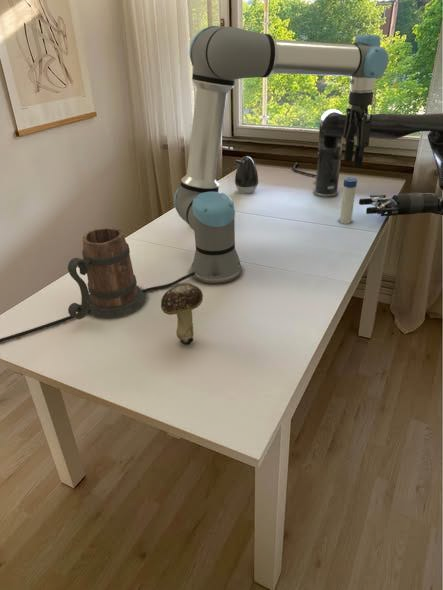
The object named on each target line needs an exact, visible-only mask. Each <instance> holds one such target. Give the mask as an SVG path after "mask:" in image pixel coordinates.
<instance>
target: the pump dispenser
mask: <svg viewBox="0 0 443 590" xmlns="http://www.w3.org/2000/svg"><path fill="white" fill-rule="evenodd" d="M234 162H235V163H236V164H237V168H236V170H235V177H234V185H235V187H236V190H237V191H239V192H240V193H242V194H251V193H253V192H255V191H256V190H257V188H258V185H259V175H258V169H257V167H256V164H255V162H254V160H253V158H252V157H251V156H249V155H246V156H245V155H244V156H243V157H242V158H241V159H240V160H238V159H235V160H234Z"/></svg>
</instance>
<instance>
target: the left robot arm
mask: <svg viewBox="0 0 443 590" xmlns="http://www.w3.org/2000/svg"><path fill="white" fill-rule="evenodd" d="M188 52H189V60H190V63H191V65H192V76H191V81H192V83H193V84H194V86H195V87H196V90H195V98H194V99H195V101H194V109H193V117H192V125H191V135H190V144H189V153H188V162H187V171H186V175H184V176H183V177H182V178H181V179H180V186H179V187H178V188H177V189H176V191H175V192H174V193H175V194H174V197H173V205H174V208H175V211H176V212H177V214H178V216H179V217H180V218H181V219H182V221H184V222H186V224H187V225H188V226H189V227H190V229H192V230H193V232H194V243H195V244H194V245H195V252H194V256H193V260H192V263H191V266H190V270H191V272H190V273H187V274H186V275H184V276H181V277H179V278H178V279H176V280H175V281H172V282H170V283H166V284H162V285H157V286H152V287H147V288H144V289H141V291H142V292H144V293H148V292H151V291H155V290H161V289H166V288H169V287H174V286H176V285H178V284H180V283H181V282H182V281H185V280H186V279H189V278H191V277H193V279H194V280H195V281H198V282H200V283H203V284H207V285H223V284H227V283H230V282H233V281H235V280H237V279H238V278H240V276H241V274H242V263H241V260H240V258H239V255H238V252H237V250H236V231H235V230H236V227H235V226H236V224H235V218H236V210H235V204H234V201H233V199H232V198H231V197H230V196H229V195H228V194H225V193H223V192H219V189H220V183H219V182H218V180H217V179H216V174H217V167H218V161H219V154H220V146H221V140H222V133H223V126H224V119H225V112H226V105H227V99H228V93H229V92H230V91H231V90H232V89H234V87H235V82H236V80H241V79H251V78H252V79H253V78H268V77H270V76H271V75H272V74H278V75H279V74H282V75H287V74H288V75H307V76H308V75H309V76H334V77H335V76H338V77H350V80H349V90H350V91H349V93H348V99H347V103H348V105H350V106H351V107H347V108H346V109H345V111H346V112H345V115H346V121H345V128H344V134H343V137H342V139H344V141H345V149H344V157H343V162H346V163H347V162H353V164H352V165H353V166H352V167H353V168H362V167H363V161H364V154H365V153H364V152H365V148H367V147H369V146H370V126H371V120H372V114H373V113H369V110H368V109H369V106H371V105H372V104H373V101H374V93H375V92H374V91H375V87H376V80H377V78H379V77H381V76H383V74H384V73H386V70H387V68H388V65H389V52H388V51H387V50H386V48H384V47H382V46H381V36H380V35H379V34H358V35H356V36H355V38H354V42H353V43H331V42H320V41H319V42H317V41H304V40H292V39H277V38H274V37H273V35H272V34H270V33H263V32H256V31H251V30H247V29H244V28H239V27H235V26H223V25H222V26H219V25H211V26H207V27H204V28H202V29H201V30H199V31H198V32H197V33H196V34H195V35H194V36H193V38H192V40H191V42H190V46H189V51H188ZM356 129H357V136H355V132H356ZM355 137H356V138H355ZM355 141H356V145H355ZM354 148H355V149H354ZM353 156H354V157H353ZM89 312H90V309H89V311H88V313H87V314H89ZM73 319H75V318H74V317H72V316H70V315H69V316H65V317H63V318H59V319H56V320H53V321H51V322H48V323H45V324H42V325H39V326H37V327H34V328H29V329H26V330H24V331H21V332H18V333H14V334H12V335H7V336H5V337H1V338H0V343H3V342H7V341H9V340H12V339H13V340H14V339H16V338H19V337H22V336H25V335H28V334H31V333H35V332H38V331H41V330H44V329H47V328H50V327H53V326H55V325H58V324H61V323H64V322H68V321H69V320H73Z"/></svg>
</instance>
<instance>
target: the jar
mask: <svg viewBox="0 0 443 590" xmlns="http://www.w3.org/2000/svg"><path fill="white" fill-rule="evenodd" d="M356 188H357V186H356V187H345V186H344V185H343V191H342V199H341V207H340V208H341V209H340V218H339V222H340V223H341V224H344V225H345V224H347V225H348V224H351V223H352V220H353V219H352V218H353V212H354V204H355V196H356Z"/></svg>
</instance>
